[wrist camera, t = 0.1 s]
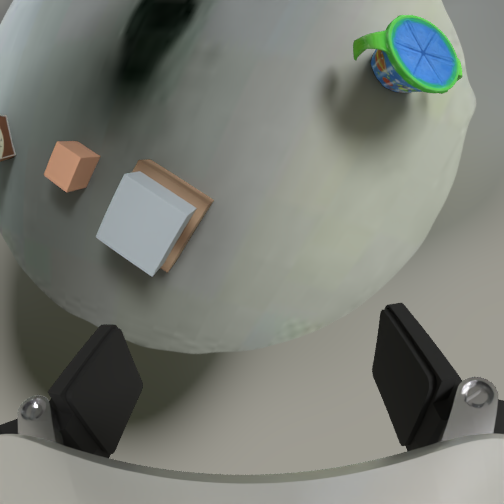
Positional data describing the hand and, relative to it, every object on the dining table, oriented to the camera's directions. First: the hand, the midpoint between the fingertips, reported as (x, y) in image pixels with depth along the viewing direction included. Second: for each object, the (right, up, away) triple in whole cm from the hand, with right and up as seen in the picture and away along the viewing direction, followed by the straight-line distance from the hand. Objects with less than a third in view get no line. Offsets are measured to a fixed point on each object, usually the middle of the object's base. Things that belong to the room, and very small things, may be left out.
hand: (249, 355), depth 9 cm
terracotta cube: (-26, +17, +28) cm, 42 cm away
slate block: (-13, +8, +26) cm, 31 cm away
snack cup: (+21, +30, +22) cm, 43 cm away
